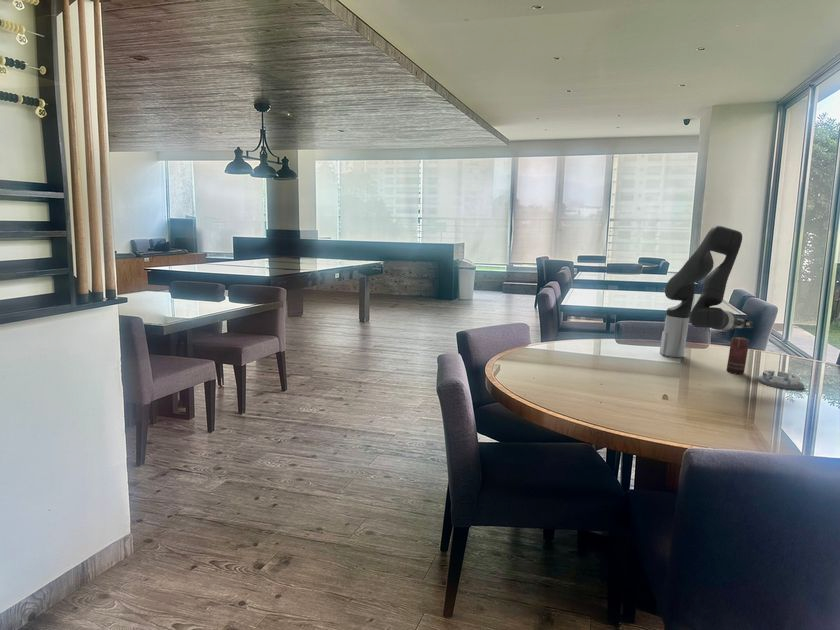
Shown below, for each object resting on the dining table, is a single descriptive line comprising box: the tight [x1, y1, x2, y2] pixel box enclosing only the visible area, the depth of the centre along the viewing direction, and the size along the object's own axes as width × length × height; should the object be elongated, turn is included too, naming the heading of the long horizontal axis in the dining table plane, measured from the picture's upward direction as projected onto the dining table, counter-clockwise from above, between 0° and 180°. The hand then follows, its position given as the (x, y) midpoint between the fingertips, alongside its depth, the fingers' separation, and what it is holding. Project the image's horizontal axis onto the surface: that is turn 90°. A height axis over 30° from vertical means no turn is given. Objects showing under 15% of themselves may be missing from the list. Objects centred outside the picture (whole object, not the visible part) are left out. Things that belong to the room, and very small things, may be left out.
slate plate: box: [756, 374, 805, 391], centre depth 213 cm, size 15×15×1 cm
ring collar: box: [762, 369, 801, 386], centre depth 213 cm, size 11×11×2 cm
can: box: [726, 336, 750, 375], centre depth 225 cm, size 6×6×14 cm
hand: (735, 323), depth 219 cm, fingers open, 8 cm apart
